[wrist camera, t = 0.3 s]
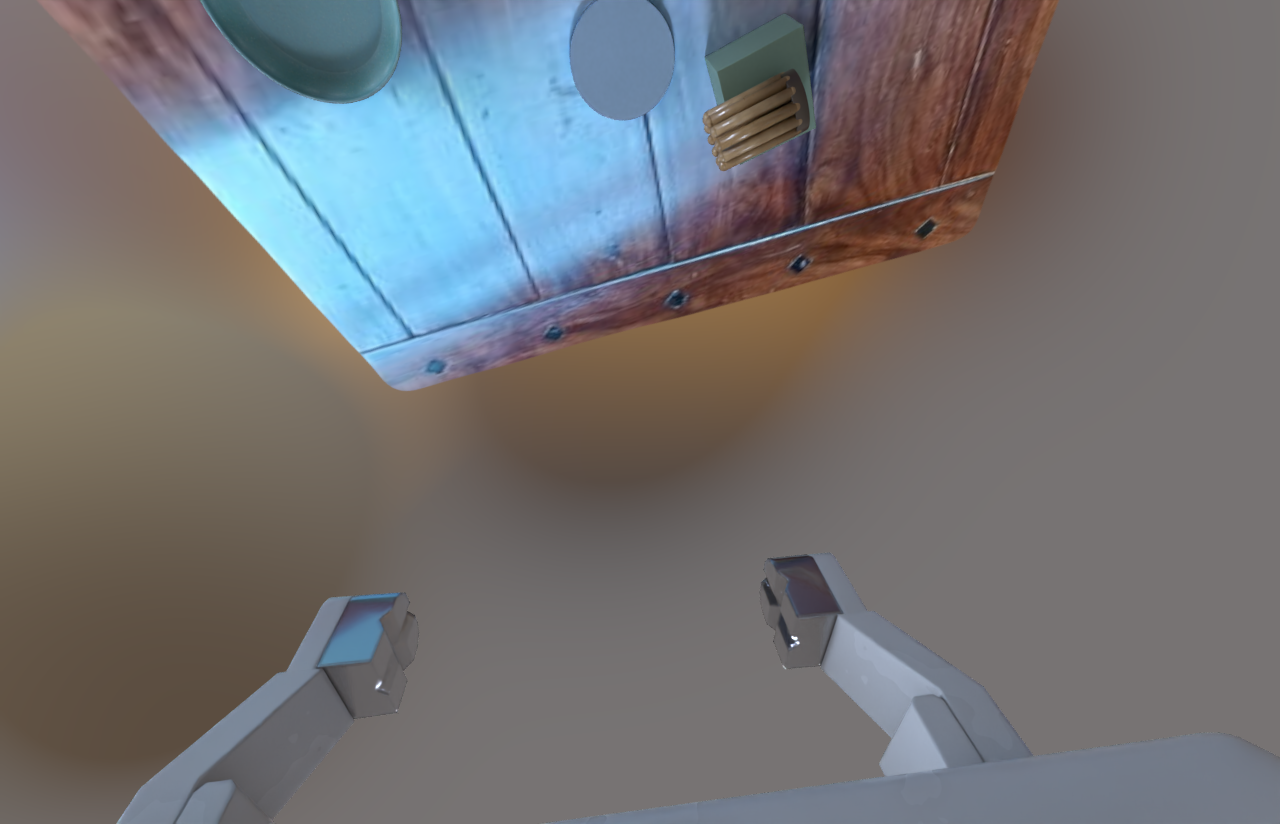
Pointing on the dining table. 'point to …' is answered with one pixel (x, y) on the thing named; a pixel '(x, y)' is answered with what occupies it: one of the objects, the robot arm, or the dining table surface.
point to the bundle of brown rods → (757, 119)
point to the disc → (622, 57)
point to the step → (761, 61)
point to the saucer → (315, 43)
